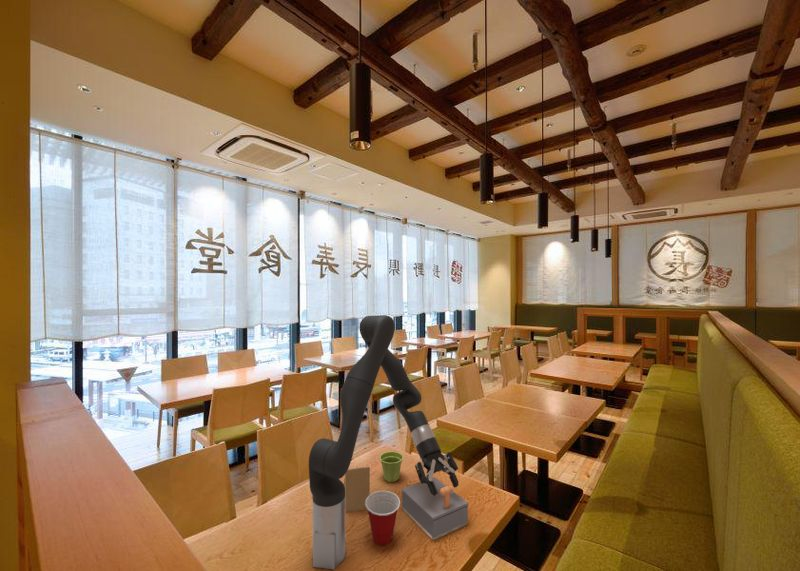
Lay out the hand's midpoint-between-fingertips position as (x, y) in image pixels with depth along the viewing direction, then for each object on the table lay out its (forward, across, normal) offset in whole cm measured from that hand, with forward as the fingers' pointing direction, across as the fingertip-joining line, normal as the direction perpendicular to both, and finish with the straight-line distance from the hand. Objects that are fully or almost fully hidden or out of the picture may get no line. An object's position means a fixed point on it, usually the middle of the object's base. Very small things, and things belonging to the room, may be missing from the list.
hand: (446, 490), depth 116 cm
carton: (+4, 0, +13) cm, 14 cm away
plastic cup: (+4, -20, +13) cm, 24 cm away
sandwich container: (-12, -18, +30) cm, 37 cm away
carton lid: (-1, 0, +9) cm, 9 cm away
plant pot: (-16, 0, +33) cm, 36 cm away
